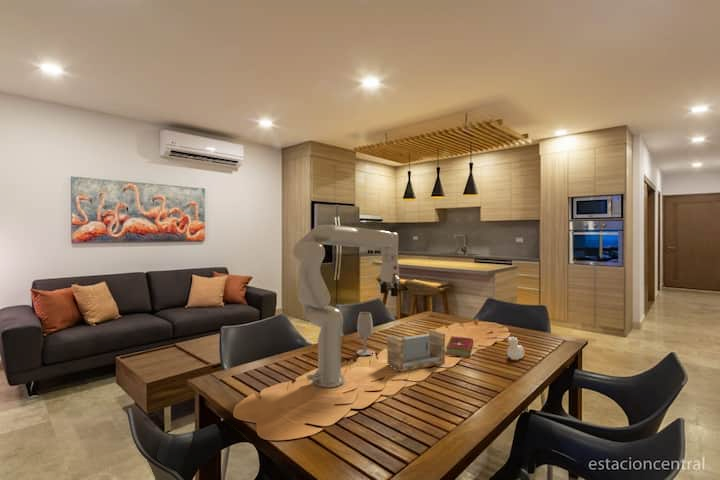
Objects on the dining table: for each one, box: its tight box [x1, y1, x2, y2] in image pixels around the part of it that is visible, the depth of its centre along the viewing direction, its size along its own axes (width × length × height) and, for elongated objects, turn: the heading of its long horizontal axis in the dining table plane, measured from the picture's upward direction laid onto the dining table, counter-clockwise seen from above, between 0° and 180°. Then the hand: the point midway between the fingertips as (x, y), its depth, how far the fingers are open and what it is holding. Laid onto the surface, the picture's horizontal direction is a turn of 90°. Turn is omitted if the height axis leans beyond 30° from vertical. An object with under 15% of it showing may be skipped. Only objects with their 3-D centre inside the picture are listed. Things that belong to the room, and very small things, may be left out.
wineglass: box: [356, 311, 374, 357], centre depth 193 cm, size 9×9×21 cm
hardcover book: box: [445, 335, 474, 357], centre depth 201 cm, size 12×21×4 cm, turn 159°
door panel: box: [401, 333, 430, 362], centre depth 178 cm, size 14×4×12 cm, turn 117°
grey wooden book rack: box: [387, 328, 446, 372], centre depth 178 cm, size 26×10×14 cm, turn 117°
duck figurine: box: [506, 336, 525, 361], centre depth 188 cm, size 12×8×11 cm
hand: (388, 294), depth 177 cm, fingers open, 9 cm apart
